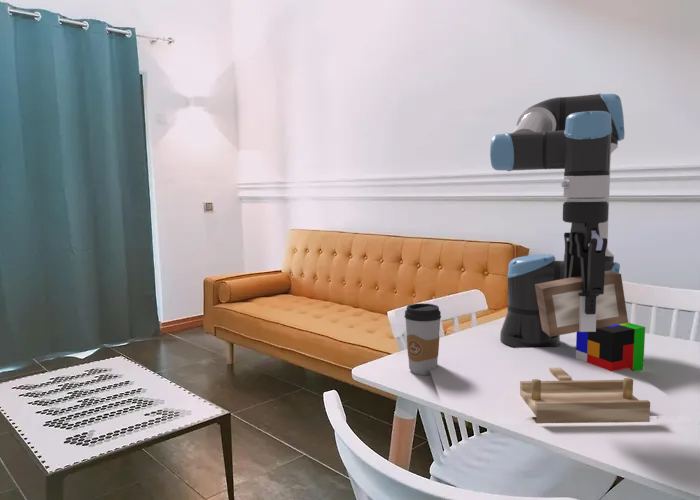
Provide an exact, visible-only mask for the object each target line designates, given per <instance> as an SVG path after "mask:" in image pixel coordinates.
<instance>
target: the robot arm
mask: <svg viewBox="0 0 700 500" xmlns="http://www.w3.org/2000/svg"><path fill="white" fill-rule="evenodd" d="M625 134H626V133H625V119H624V110H623V104H622V100H621V97H620V96H619V95H618V94H616V93H597V94H596V93H595V94H586V95H585V94H584V95H576V96H575V95H574V96H563V97H562V96H561V97H560V96H559V97H553V98H549V99H546V100H543V101H540V102H538V103H535V104H533V105H532V106H530V107H528V108H527V109H526V110H524V111H523V112H522V113H521V114H520V116H519V117H518V119H517V122H516V127H515V128H514V130H513V131H512V133H511V132H510V133H509V132H505V133H499V134H495V135H493V136H492V138H491V141H490V149H489V155H490V156H489V157H490V158H489V159H490V164H491V167H492V169H493V170H495V171H505V172H506V171H507V172H513V171H532V170H533V171H534V170H535V171H536V170H564V171H563V181H562V182H561V185H560V186H561V187H562V188H563V195H562V196H563V199H566V201H564V202H563V203H562V221H563V222H564V223H569V224H571V228H570V232H569V231H568V232H564V233H563V238H564V254H563V260H556V257H555V255H554V254H551V253H550V254H548V253H547V254H545V253H544V254H543V253H542V254H530V255H522V256H518V257H514V258H512V259H511V260H510V261H509V263H508V270H507V312H506V315H505V319H504V321H503V324H502V326H501V330H500V334H499V335H500V337H499V338H500V339H499V340H500V342H501V343H502V344H504V345H507V346H509V347H513V348H516V349H517V348H518V349H526V348H527V349H529V348H530V349H533V348H535V349H537V348H539V349H540V348H541V349H543V348H556V347H558V346H560V342H561V340H560V338H561V337H560V336H561V335H558V336H552V337H550V336H549V335H547V334H546V333H545V332H544V331H542V326H541V320H540V314H539V308H538V302H537V296H536V290H535V284H539V283H544V282H550V281H555V280H560V279H566V278H571V277H576V276H582V293H578V295H579V296H580V310H579V331H580V332H596V311H597V296H599V295H600V294H603V293H604V276H605V271H608V270H611V271H614V272H617V273H620V269H621V264H620V263H619V262H616V261H614V260H615V259H614V258H615V255H614V254H613V253H612V252H611V251H610V250H609V248H608V239H609V217H610V216H609V214H610V210H609V209H610V189H611V188H610V187H611V185H610V184H611V183H610V182H611V158H612V157H611V156H612V153H613V152H614V151H615V150H617V149H618V145H619V142H621V141H623V140H625Z"/></svg>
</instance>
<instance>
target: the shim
mask: <svg viewBox="0 0 700 500" xmlns="http://www.w3.org/2000/svg"><path fill="white" fill-rule="evenodd" d="M548 371H549V373H551V375H552V376H553V377H555V379H556V380H557V381H572V376H571V375H569V373H568V372H566V371H565V370H564V369H563V368H562V367H549V369H548Z"/></svg>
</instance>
